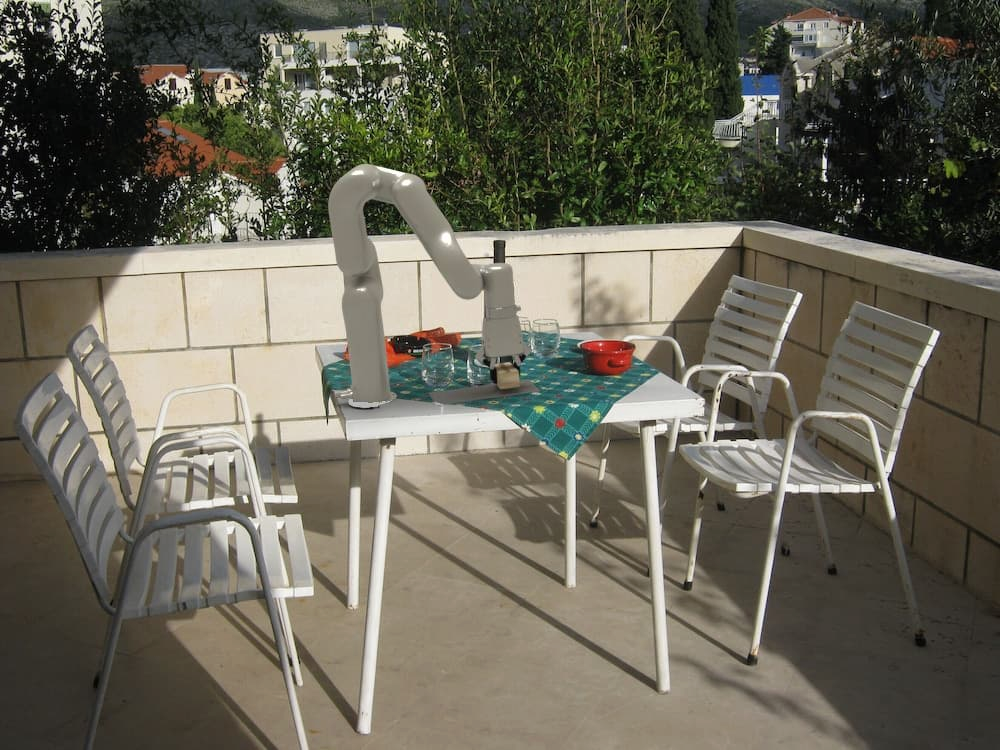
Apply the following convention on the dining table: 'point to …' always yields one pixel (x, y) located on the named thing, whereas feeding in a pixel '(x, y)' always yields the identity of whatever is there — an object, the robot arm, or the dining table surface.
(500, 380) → the birch tile
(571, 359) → the dining table surface
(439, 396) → the rubber mat
